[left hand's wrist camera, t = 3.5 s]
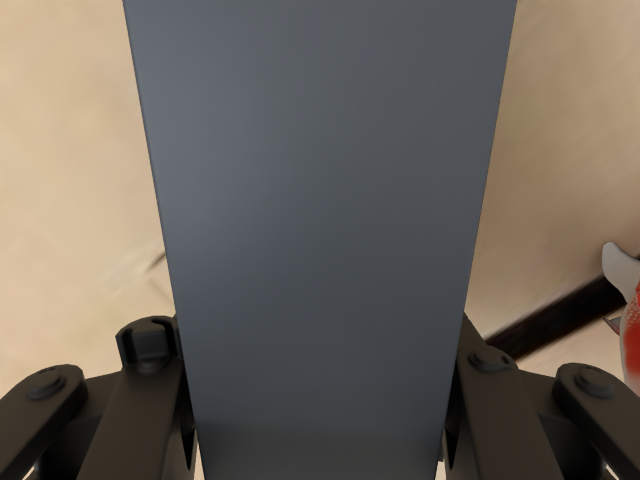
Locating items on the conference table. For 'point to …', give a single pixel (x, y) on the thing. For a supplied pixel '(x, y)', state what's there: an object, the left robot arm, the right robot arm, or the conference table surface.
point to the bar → (319, 218)
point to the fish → (626, 309)
